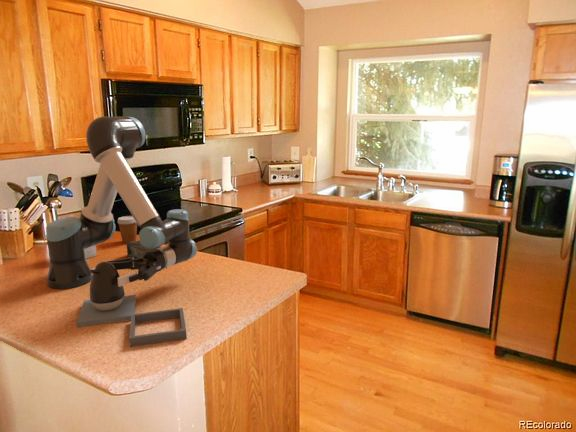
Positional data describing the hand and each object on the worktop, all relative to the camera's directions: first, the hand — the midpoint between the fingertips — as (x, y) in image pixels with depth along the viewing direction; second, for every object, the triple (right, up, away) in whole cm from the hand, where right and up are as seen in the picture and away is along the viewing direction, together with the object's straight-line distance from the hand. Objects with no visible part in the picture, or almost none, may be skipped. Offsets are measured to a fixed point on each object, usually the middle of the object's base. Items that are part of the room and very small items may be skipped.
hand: (104, 277), depth 136 cm
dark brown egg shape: (0, -10, +3) cm, 10 cm away
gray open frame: (+19, -14, -9) cm, 25 cm away
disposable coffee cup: (-21, +7, +78) cm, 81 cm away
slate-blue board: (0, -11, +3) cm, 12 cm away
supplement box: (-34, +1, +56) cm, 65 cm away
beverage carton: (-5, 0, +54) cm, 54 cm away
